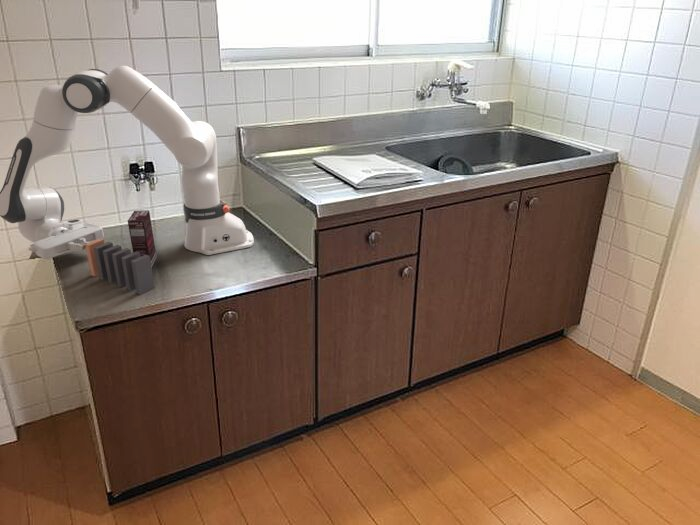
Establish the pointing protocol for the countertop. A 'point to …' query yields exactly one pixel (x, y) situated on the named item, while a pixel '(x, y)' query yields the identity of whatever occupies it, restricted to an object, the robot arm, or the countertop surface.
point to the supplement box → (142, 234)
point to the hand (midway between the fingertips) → (85, 246)
